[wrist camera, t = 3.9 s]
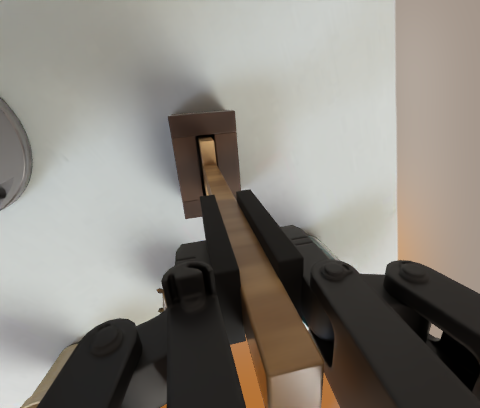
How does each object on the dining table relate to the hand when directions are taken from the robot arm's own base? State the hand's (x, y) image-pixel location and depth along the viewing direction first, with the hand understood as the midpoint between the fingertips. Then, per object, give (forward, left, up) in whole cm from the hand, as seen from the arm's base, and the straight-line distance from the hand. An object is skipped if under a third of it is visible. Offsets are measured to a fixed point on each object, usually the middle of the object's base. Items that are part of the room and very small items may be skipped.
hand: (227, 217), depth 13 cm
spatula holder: (0, 0, -18) cm, 18 cm away
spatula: (0, 0, -17) cm, 17 cm away
